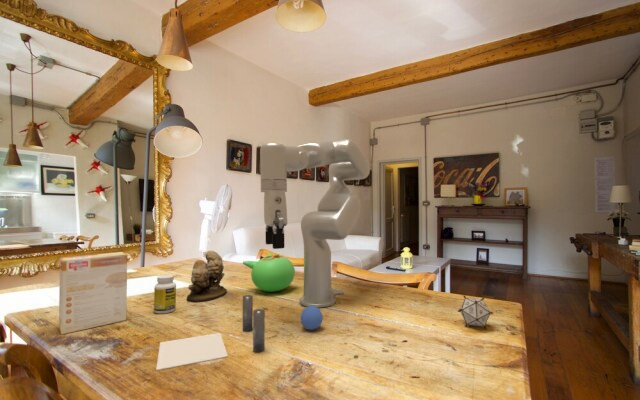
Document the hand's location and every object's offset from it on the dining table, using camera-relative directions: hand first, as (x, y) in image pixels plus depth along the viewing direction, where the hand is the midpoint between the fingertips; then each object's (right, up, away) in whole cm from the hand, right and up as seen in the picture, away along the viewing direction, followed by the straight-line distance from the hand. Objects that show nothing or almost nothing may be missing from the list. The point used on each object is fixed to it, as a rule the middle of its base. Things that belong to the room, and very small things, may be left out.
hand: (274, 246), depth 89 cm
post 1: (-6, -22, -6) cm, 23 cm away
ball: (+11, -19, -5) cm, 22 cm away
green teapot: (-6, -23, +34) cm, 42 cm away
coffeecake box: (-51, -22, -1) cm, 56 cm away
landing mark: (-17, -21, -18) cm, 32 cm away
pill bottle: (-36, -22, +10) cm, 44 cm away
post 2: (-1, -21, -18) cm, 28 cm away
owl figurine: (-29, -23, +27) cm, 46 cm away
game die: (+56, -22, -3) cm, 60 cm away
